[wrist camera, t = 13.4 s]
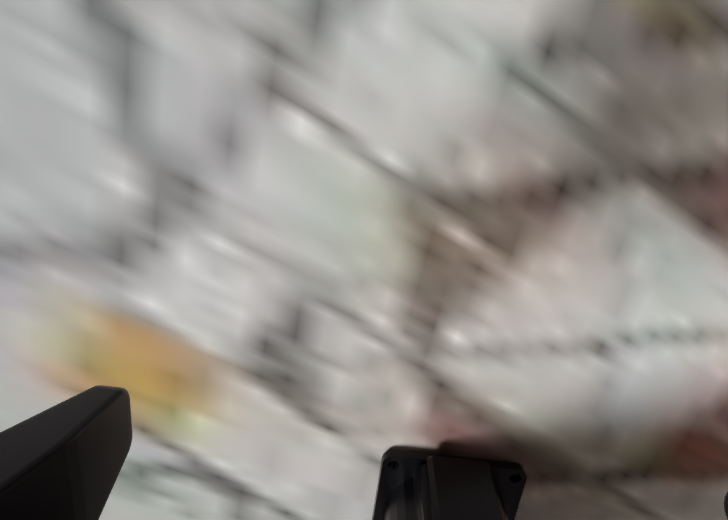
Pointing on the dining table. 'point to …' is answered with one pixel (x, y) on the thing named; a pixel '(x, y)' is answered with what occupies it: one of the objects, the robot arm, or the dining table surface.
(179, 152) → the dining table surface
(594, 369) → the dining table surface
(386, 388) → the dining table surface
